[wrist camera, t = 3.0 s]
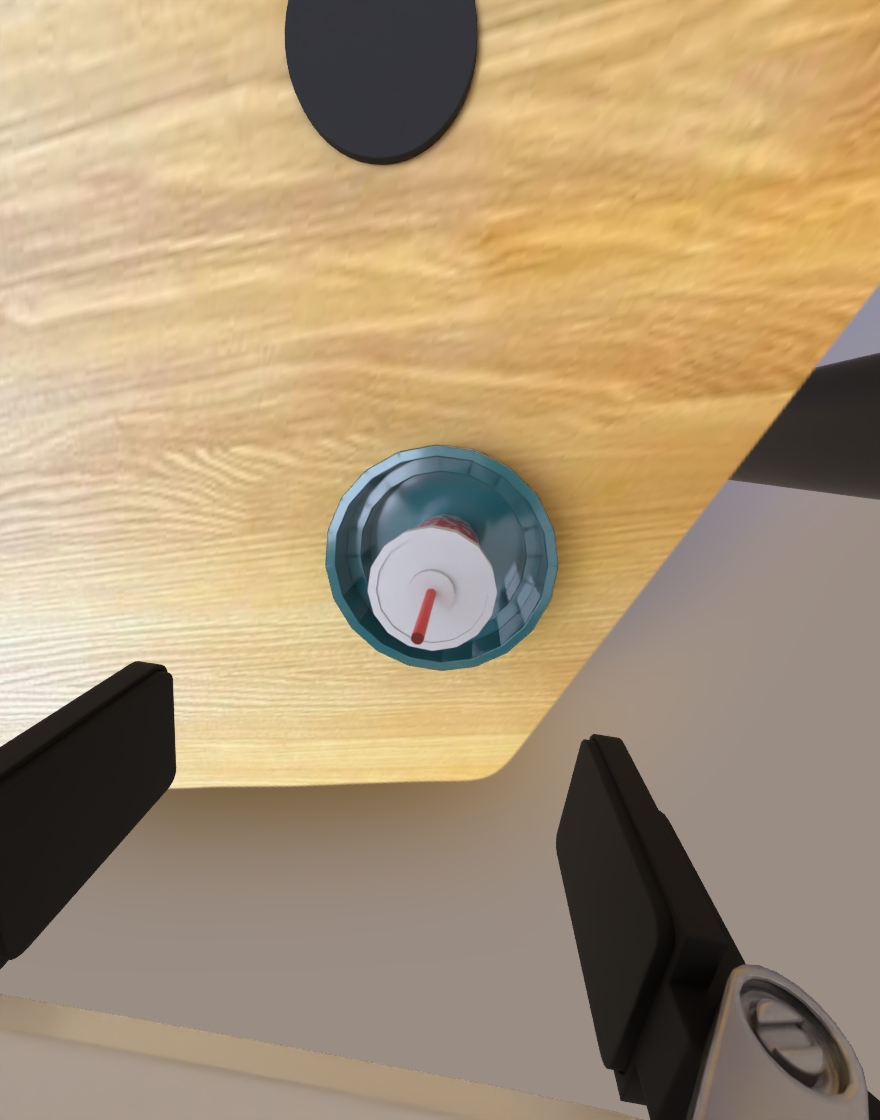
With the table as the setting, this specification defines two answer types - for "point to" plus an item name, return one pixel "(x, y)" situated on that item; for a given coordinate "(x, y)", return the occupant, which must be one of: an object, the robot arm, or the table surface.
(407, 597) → the beverage cup
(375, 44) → the coaster
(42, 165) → the table surface
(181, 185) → the table surface
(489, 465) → the bowl
